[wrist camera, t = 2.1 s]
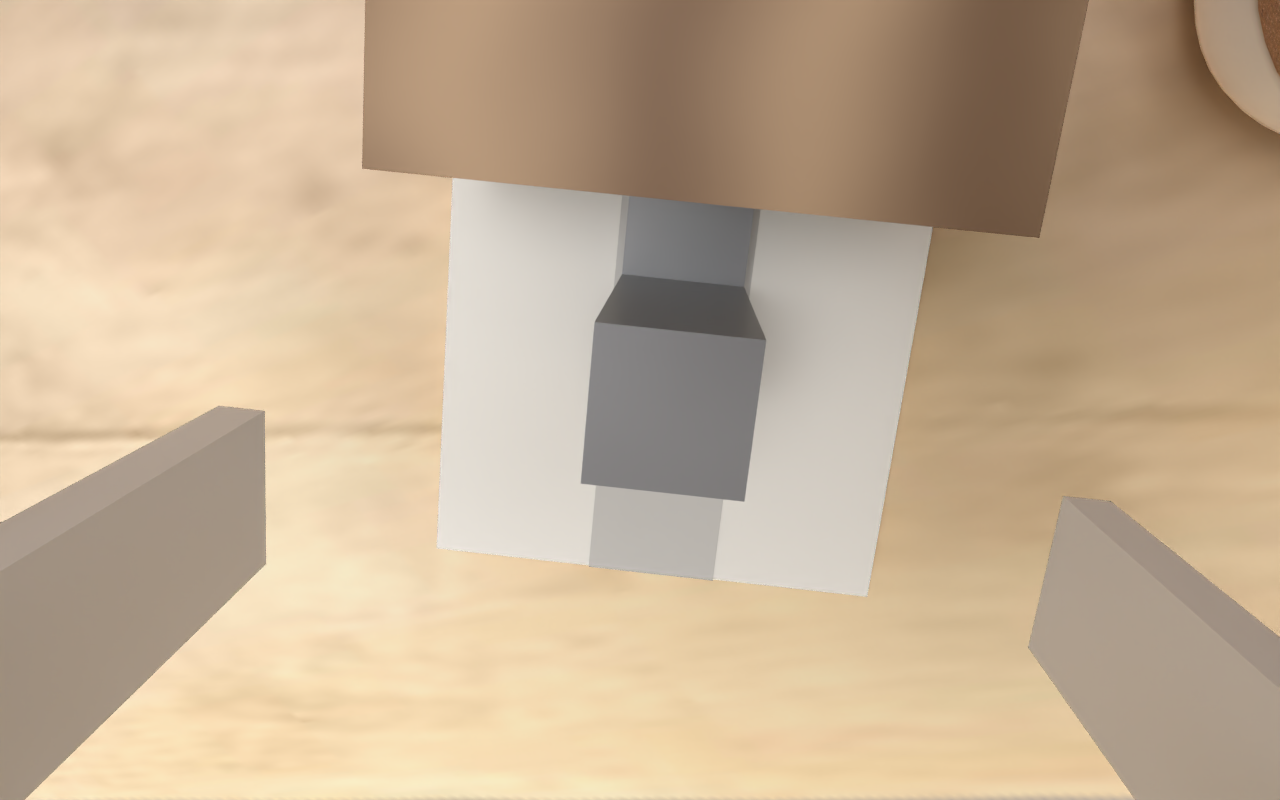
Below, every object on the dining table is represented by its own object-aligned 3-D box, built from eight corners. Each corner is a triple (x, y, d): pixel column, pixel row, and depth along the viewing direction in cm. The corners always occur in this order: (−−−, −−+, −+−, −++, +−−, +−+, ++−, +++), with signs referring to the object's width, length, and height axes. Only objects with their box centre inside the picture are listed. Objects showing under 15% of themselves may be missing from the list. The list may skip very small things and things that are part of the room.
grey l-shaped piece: (799, -168, 27) (859, -344, 18) (724, 425, 32) (739, 539, 23) (665, -180, 28) (653, -362, 18) (610, 412, 32) (577, 521, 23)
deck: (1027, -407, 27) (1054, -451, 25) (857, 573, 36) (867, 597, 34) (496, -452, 28) (481, -499, 26) (450, 527, 36) (436, 549, 34)
